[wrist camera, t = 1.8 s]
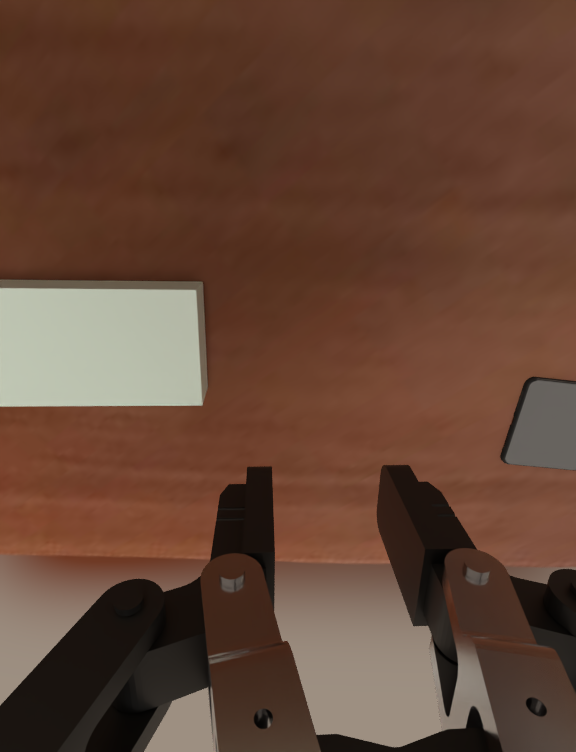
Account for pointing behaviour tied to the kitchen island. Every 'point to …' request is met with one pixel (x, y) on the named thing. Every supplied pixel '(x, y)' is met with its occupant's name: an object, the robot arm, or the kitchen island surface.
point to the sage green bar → (102, 343)
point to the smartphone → (543, 426)
